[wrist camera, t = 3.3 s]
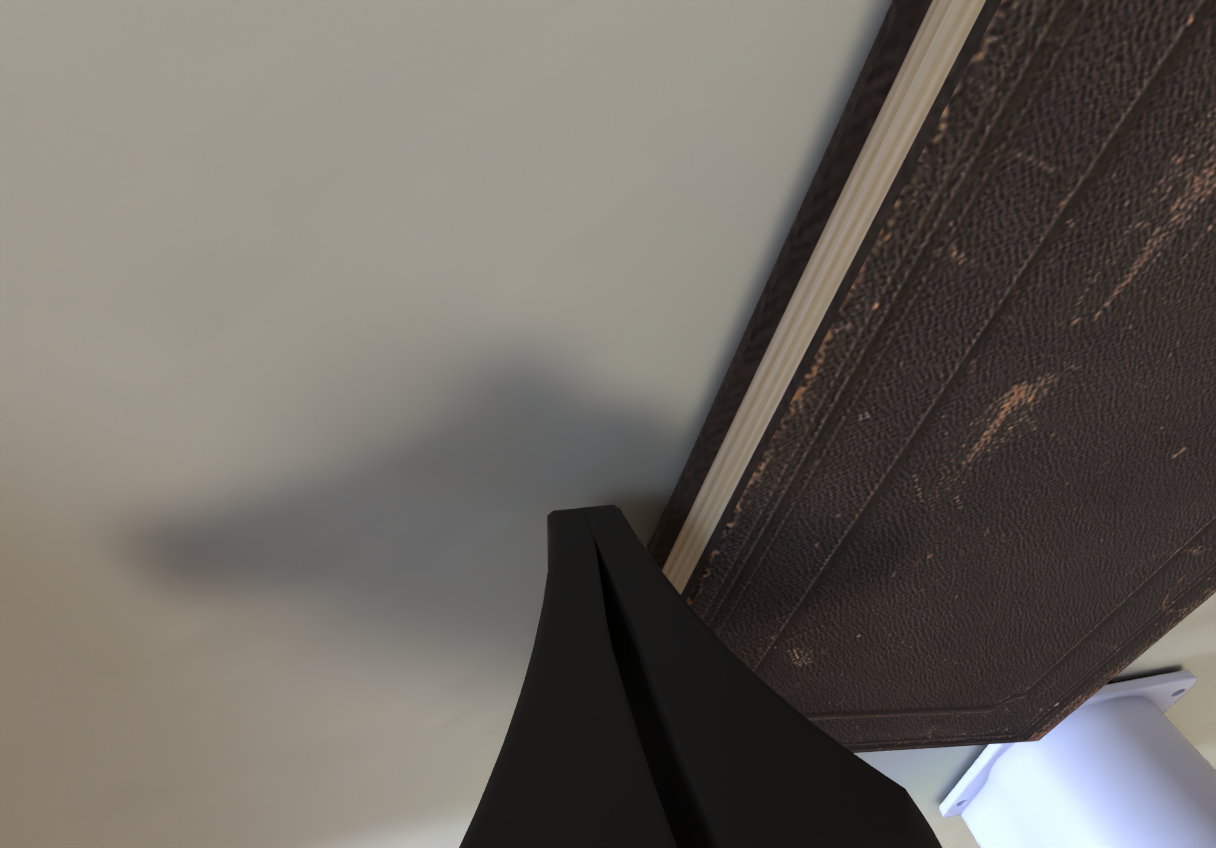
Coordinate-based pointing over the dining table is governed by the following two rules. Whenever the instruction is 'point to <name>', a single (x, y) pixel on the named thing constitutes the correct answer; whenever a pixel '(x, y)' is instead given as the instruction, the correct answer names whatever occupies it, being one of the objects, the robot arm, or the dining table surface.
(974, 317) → the hardcover book
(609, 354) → the dining table surface
